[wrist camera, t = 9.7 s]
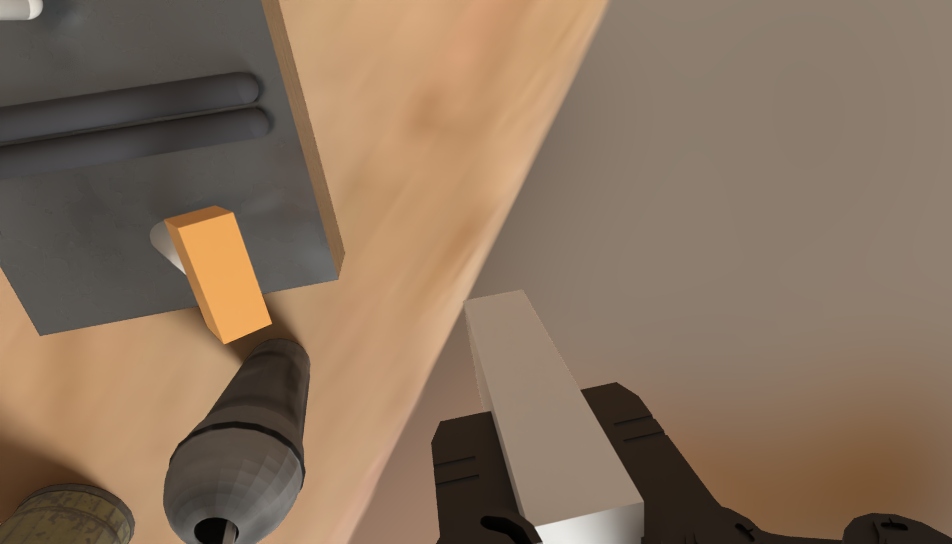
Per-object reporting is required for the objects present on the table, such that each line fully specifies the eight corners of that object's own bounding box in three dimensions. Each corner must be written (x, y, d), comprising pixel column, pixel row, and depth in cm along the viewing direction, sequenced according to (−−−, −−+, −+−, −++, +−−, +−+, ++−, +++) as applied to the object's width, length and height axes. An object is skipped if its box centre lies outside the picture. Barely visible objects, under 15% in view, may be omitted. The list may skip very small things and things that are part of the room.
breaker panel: (86, 300, 34) (39, 335, 30) (-104, -73, 26) (-210, -104, 21) (344, 253, 36) (338, 279, 32) (248, -114, 27) (219, -150, 23)
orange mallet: (163, 280, 28) (224, 344, 20) (127, 196, 26) (177, 228, 18) (200, 268, 30) (271, 323, 21) (168, 186, 28) (233, 212, 19)
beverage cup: (245, 309, 37) (99, 550, 18) (341, 339, 39) (296, 581, 20) (218, 388, 39) (63, 675, 20) (311, 412, 41) (245, 691, 22)
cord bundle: (-22, 182, 26) (-46, 188, 25) (-58, 116, 25) (-86, 119, 24) (275, 134, 28) (269, 137, 26) (256, 69, 26) (248, 69, 25)
